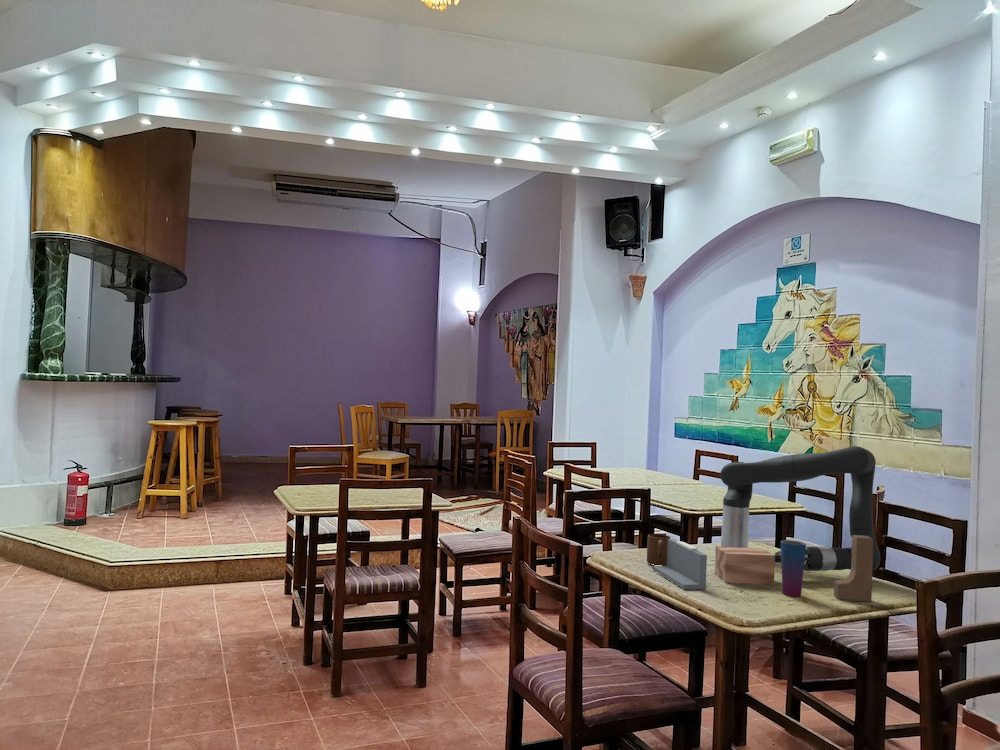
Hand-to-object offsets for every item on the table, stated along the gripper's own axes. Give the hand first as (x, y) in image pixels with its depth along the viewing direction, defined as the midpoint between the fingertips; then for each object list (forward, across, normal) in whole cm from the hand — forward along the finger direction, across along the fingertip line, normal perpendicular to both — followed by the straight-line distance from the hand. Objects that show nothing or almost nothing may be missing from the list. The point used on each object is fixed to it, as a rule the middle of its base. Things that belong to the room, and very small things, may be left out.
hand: (767, 558), depth 227 cm
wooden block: (-14, +22, +7) cm, 27 cm away
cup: (+2, +17, +7) cm, 18 cm away
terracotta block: (+8, 0, +7) cm, 10 cm away
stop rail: (+30, 0, +7) cm, 30 cm away
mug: (+28, -18, +7) cm, 34 cm away
